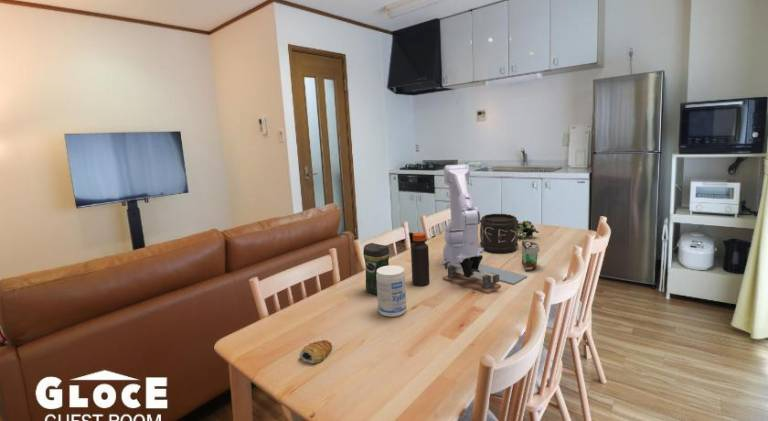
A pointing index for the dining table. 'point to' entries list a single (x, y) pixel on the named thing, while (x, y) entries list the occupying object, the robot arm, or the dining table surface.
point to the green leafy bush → (526, 229)
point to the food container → (529, 255)
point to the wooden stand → (471, 281)
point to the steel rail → (473, 272)
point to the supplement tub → (391, 290)
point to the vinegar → (420, 260)
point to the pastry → (316, 351)
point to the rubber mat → (503, 274)
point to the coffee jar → (374, 263)
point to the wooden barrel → (499, 233)
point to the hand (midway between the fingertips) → (470, 275)
